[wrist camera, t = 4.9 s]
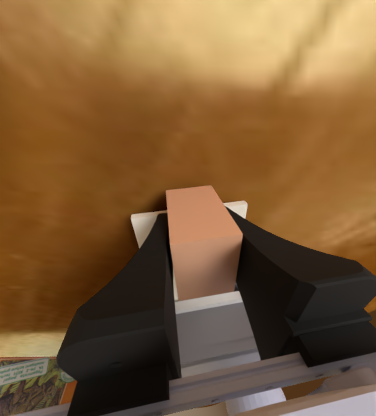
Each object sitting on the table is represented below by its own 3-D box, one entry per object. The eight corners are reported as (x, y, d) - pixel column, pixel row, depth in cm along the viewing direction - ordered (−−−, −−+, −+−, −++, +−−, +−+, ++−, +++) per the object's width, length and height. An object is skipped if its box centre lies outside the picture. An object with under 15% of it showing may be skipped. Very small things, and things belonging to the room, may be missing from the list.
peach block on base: (231, 295, 18) (252, 352, 14) (158, 308, 18) (157, 372, 13) (247, 181, 11) (299, 226, 7) (126, 194, 11) (104, 253, 6)
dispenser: (246, 313, 23) (271, 373, 18) (142, 333, 22) (136, 403, 16) (256, 273, 18) (293, 337, 13) (125, 294, 17) (110, 375, 12)
